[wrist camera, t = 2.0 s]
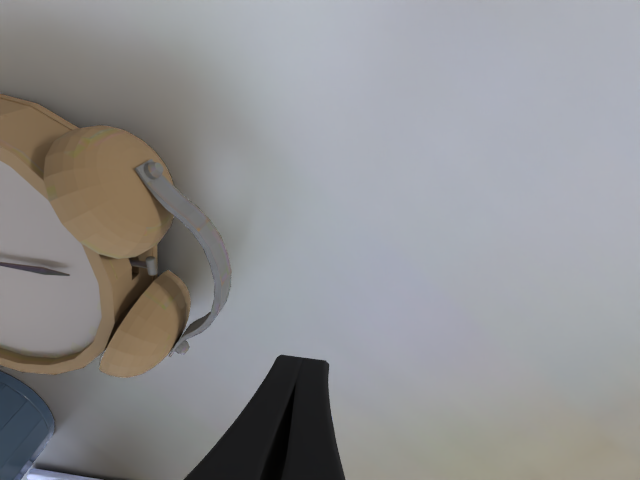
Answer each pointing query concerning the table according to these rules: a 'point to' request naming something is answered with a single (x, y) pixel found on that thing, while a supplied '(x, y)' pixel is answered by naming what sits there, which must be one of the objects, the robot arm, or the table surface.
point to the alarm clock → (91, 248)
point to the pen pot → (21, 427)
